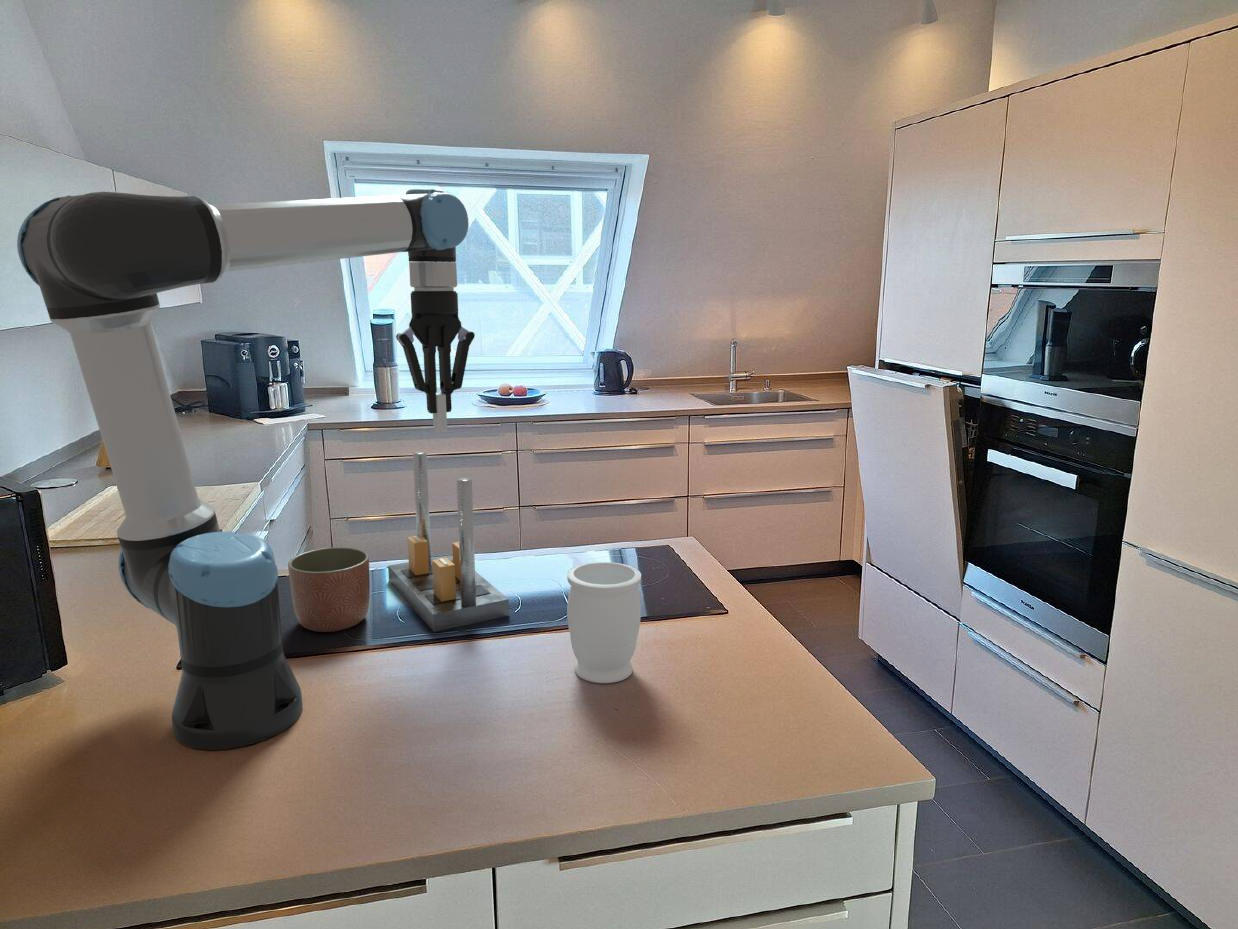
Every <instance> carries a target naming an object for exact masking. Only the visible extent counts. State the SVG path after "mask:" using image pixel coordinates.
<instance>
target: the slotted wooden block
mask: <svg viewBox="0 0 1238 929" xmlns="http://www.w3.org/2000/svg"><path fill="white" fill-rule="evenodd" d="M432 566H433V589H434V594H435V596H436V597H437V598H438V599H439V600H440V601H441V602H442V601H447V600H452V599H456V584H455V564H453V563H452V562H451V561H450V560H449V559H448V558H440V559H436V560H432Z"/></svg>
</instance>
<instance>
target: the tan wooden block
mask: <svg viewBox="0 0 1238 929" xmlns="http://www.w3.org/2000/svg"><path fill="white" fill-rule="evenodd" d="M407 555H408V557H407V558H408V562H409V569H410V570H411V571H412V572H413V573H414V574H415V575H421V574H426V573H429V556H428V541H427V540H426V539H425V538H423V537H422V536H421V535H420V536H417V535H413V536H408V537H407Z"/></svg>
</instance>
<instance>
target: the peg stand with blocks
mask: <svg viewBox="0 0 1238 929" xmlns="http://www.w3.org/2000/svg"><path fill="white" fill-rule="evenodd" d="M427 455H428V454H427V452H426V451H416V452H413V453H412V459H413V460H412V461H413V479H414V480H413V481H414V482H413V483H414V501H415V503H414V504H415V506H414V507H415V521H416V522H415V523H416V536H420V535H421V536H422V537H423V538H425V539H426V540H427V541H428V556H429V573H426V574H421V575H415V574H414V573H413V572H412V571H411V570H410V569H409V561H408V562H402V563H395V564H389V565H387V571H388V572H387V573H388V582H390V584H391V585H392V586H393V588H395V590H396V591H397V592H398V593H399V594H400V595H401V596H402V598H404V599H405V601H406V602H407V603H408V605H410V607H411V608H412V609H413V610H414V611H415V612H416V614H418V616H420V618H421V619H422V620H423V622H425V624H426V625H427V626H428V627H429V628H430V629H431V630H432V632H433V633H435V632H442V631H445V630H450V629H453V628H454V629H455V628H459V627H464V626H469V625H473V624H478V623H482V622H487V621H492V620H496V619H501V618H504V617H509V616H510V599H509V598H508V597H507V596H506V595H504V594H503V593H502V592H501V591H500V590H499V589H498V588H496V587H495V586H494V585H493V584H492V583H490V582H489V581H488V580H487V579H485V578H484V577H483V575H480V573H478V572H477V571H476V564H475V563H476V562H475V561H476V560H475V533H474V532H475V531H474V498H473V479H472V478H467V477H462V478H458V479H456V494H457V496H456V497H457V498H456V499H457V522H458V524H457V527H458V528H457V530H458V542H459V557H460V580H459V579H458V578H457V577H456V576H455V584H456V599H452V600H447V601H442V602H441V601H440V600H439V599H438V598H437V597H436V596H435V594H434V589H433V566H432V560H436V559H440V558H448V559H449V560H450V561H451V562H452V563H453V554H450V555H444V556H437V557H432V552H431V551H432V549H431V547H432V546H431V528H430V527H431V523H430V505H429V504H430V502H429V482H428V480H429V479H428V459H427V458H428V456H427Z"/></svg>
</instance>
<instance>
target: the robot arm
mask: <svg viewBox="0 0 1238 929" xmlns="http://www.w3.org/2000/svg"><path fill="white" fill-rule="evenodd" d="M468 231H469V216H468V212H467V209H466V207H465V205H464V204H463V202H462V201H461V199H459V198H458V197H457V196H455V195H454V194H452V193H450V192H449V191H447V190H444V189H437V188H435V189H434V188H433V189H432V188H411V189H408V190H407V191H406V193H405V194H400V195H379V196H376V195H375V196H357V197H356V196H355V197H354V196H353V197H351V196H348V197H337V198H318V199H317V198H315V199H299V200H297V199H296V200H295V199H294V200H278V201H277V200H276V201H275V200H273V201H257V202H239V203H238V202H237V203H219V204H218V203H217V204H216V203H215V204H213V203H212V204H209V203H208V202H207V201H206V200H204V198H202V197H200V196H198V195H188V196H166V195H163V196H162V195H150V194H149V195H148V194H147V195H146V194H135V193H129V192H128V193H127V192H115V191H114V192H113V191H96V192H95V191H94V192H89V193H85V194H79V195H66V196H60V197H59V196H58V197H53V198H52V199H50V200H47V201H45V202H43V203H41V204H40V205H39V206H37V207H36V208H35V209H33V210H32V211H31V212H30V213H28V215H27V216H26V217H25V219H24V220H23V222H22V223H21V225H20V227H19V231H18V234H17V240H16V242H17V243H16V246H17V254H18V257H19V261H20V263H21V265H22V267H23V269H24V271H25V272H26V273H27V275H28V276H29V278H31V280H32V281H33V282H34V283H35V284H36V285H37V286H38V287H39V288H40V292H41V295H42V299H43V302H44V306H45V308H46V310H47V313H48V314H47V315H48V317H49V320H50V322H51V323H53V324H54V325H57V326H58V327H60V328H62V329H63V330H65V331H67V332H68V333H69V335H70V338H71V341H72V343H73V347H74V350H75V354H76V358H77V361H78V364H79V367H80V370H81V371H80V372H81V374H82V377H83V380H84V383H85V387H86V390H87V393H88V397H89V399H90V403H91V405H92V406H91V407H92V410H93V413H94V416H95V419H96V423H97V426H98V429H99V432H100V436H101V438H102V442H103V445H104V450H105V452H106V455H107V459H108V462H109V465H110V469H111V472H112V475H113V478H114V481H115V482H114V483H115V485H116V487H117V488H116V489H117V491H118V496H119V499H120V501H121V505H122V508H123V511H124V514H125V518H124V519H123V520H122V522H121V523H120V525H119V526H118V528H117V530H116V534H117V538H118V541H119V545H120V548H121V549H120V552H119V556H118V562H117V563H118V572H119V576H120V577H119V578H120V580H121V583H122V584H123V586H124V587H125V589H126V591H127V592H128V594H130V596H131V597H132V598H133V599H134V600H136V601H137V602H138V603H139V604H141V605H142V606H144V607H146V609H150V610H152V611H153V612H155V613H156V614H158V615H159V616H161V617H162V618H164V619H165V620H166V621H168V622H169V623H171V624H172V625H174V626H175V628H176V631H177V638H178V648H179V654H180V655H179V657H180V662H181V664H180V665H181V676H180V680H179V684H178V688H177V692H176V695H175V696H176V697H175V700H174V704H173V707H172V712H171V724H172V725H171V726H172V732H173V736H174V738H175V740H176V741H177V742H179V743H180V744H182V745H184V746H186V747H188V748H193V749H197V750H204V751H205V750H206V751H208V750H209V751H218V750H228V749H235V748H237V749H238V748H239V747H241V748H242V747H245V746H250V745H253V744H257V743H259V742H262V741H265V740H267V739H270V738H271V737H274V736H276V735H277V734H279V733H282V732H283V731H285V730H286V729H288V728H289V727H291V726H292V725H293V724H294V723H295V722H296V721H297V720H298V719H299V717H300V716H301V714H302V712H303V708H304V707H303V696H302V689H301V687H300V684H299V683H298V680H297V678H296V677H295V676H296V675H295V674H294V672H293V670H292V668H291V666H290V664H289V662H288V660H287V658H286V655H285V652H284V648H283V646H284V645H283V633H282V623H281V622H282V619H281V609H280V607H281V606H280V598H279V597H280V596H279V586H278V585H279V584H278V579H279V578H278V577H279V572H278V566H277V564H276V560H275V555H274V551H273V549H272V547H271V546H270V544H269V543H268V542H267V541H266V540H264V539H262V538H260V537H259V536H258V535H257V536H256V535H254V534H251V533H246V532H241V533H236V532H235V531H221V528H220V525H219V521H218V518H217V515H216V511H215V508H214V507H213V505H211V504H209V503H206V502H205V501H203V500H201V499H200V498H199V496H198V493H197V492H198V491H197V489H196V485H195V481H194V477H193V474H192V470H191V466H190V463H189V458H188V456H187V452H186V448H185V445H184V441H183V438H182V437H183V436H182V433H181V430H180V426H179V422H178V419H177V415H176V411H175V407H174V403H173V400H172V398H171V394H170V393H171V392H170V389H169V386H168V382H167V379H166V375H165V370H164V367H163V364H162V360H161V356H160V353H159V349H158V348H159V347H158V345H157V341H156V338H155V333H154V331H153V327H152V323H151V322H152V319H153V317H154V316H155V315H156V313H157V311H158V310H159V309H160V307H161V305H160V301H159V296H158V293H163V292H166V291H171V290H176V289H181V288H185V287H188V286H189V287H190V286H194V285H195V286H196V285H201V284H210V283H211V284H212V283H217V282H218V281H220V279H221V278H222V277H223V275H224V273H228V272H235V271H245V270H253V269H263V268H272V267H281V266H290V265H297V264H299V265H300V264H306V263H317V262H325V261H333V260H334V261H335V260H343V259H349V258H350V259H352V258H359V257H360V258H361V257H369V256H377V255H387V254H388V255H389V254H394V253H395V254H396V253H407V254H408V264H409V265H408V266H409V267H408V269H409V271H408V272H409V286H410V287H411V288H413V290H412V291H411V292H410V305H411V306H410V310H411V319H410V322H409V323H408V328H406V329H405V330H404V331H402V332H398V333H397V334H396V335H395V338H396V340H397V341H398V343H399V344H400V346H401V347H402V348H403V352H404V353H403V354H404V356H405V359H406V362H407V366H408V369H409V372H410V376H411V380H412V383H413V385H414V386H413V387H414V389H415V390H417V391H420V392H424V393H425V395H426V410H427V412H428V413H429V414H432V424H433V426H432V427H433V432H435V433H437V434H448V420H447V417H448V416H447V415H448V414H447V413H451V411H452V406H453V405H452V394H453V393H454V391H456V390H459V389H461V388H462V386H463V382H464V376H465V371H466V367H467V366H466V365H467V360H468V355H469V351H470V346H471V344H472V342H473V341H474V339H475V336H476V334H475V332H473V331H470V330H467V329H466V328H465V327H463V326H462V322H461V320H460V318H459V296H458V294H459V293H458V292H457V291H456V290H455V288H457V287H458V275H457V274H458V273H457V272H458V271H457V253H456V252H457V250H456V248H457V247H458V246H459V245H460V244H462V242H463V241H464V240H465V238H466V237H467V233H468ZM414 336H415V338H416V340H418V342H419V343H420V344H421V346H422V348H421V349H422V352H423V353H422V354H423V370H424V373H423V372H422V369H421V365H420V362H419V358H418V354H417V352H416V348H415V345H414V344H413V343H414V341H415V338H414ZM456 337H457V341H458V342H457V345H456V349H455V350H456V352H455V356H454V361H453V366H451V364H452V362H451V360H452V359H451V352H452V343H453V341H454V340H455V339H456ZM436 352H438V353H437V354H438V369H439V370H438V371H439V373H438V374H439V388H440V392H437V391H438V387H437V384H438V383H437V363H436V362H437V361H436ZM423 374H424V375H423Z"/></svg>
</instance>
